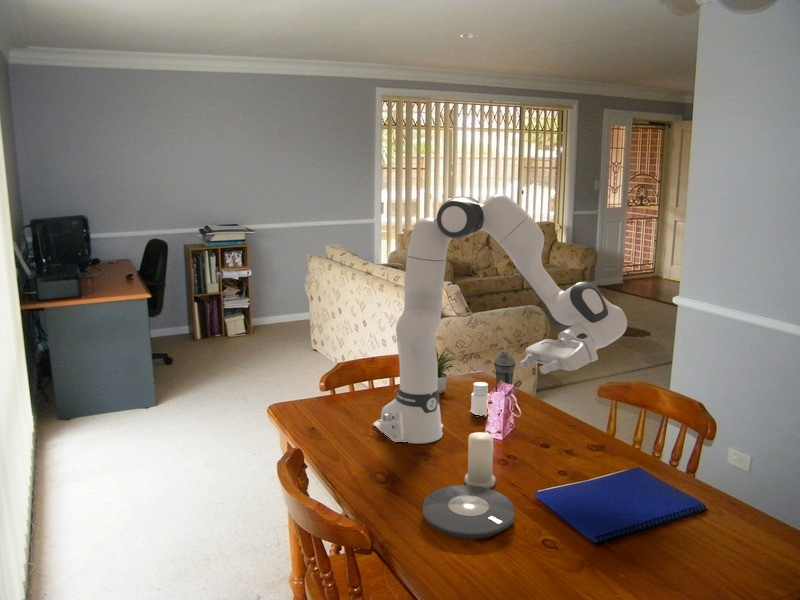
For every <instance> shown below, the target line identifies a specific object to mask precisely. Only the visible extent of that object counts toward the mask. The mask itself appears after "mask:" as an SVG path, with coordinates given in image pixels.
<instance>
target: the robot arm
mask: <svg viewBox="0 0 800 600" xmlns="http://www.w3.org/2000/svg"><path fill="white" fill-rule="evenodd" d="M479 231H484V232H485V233H487V234H489V235H490V236H491V238H492V239H494V240H495V242H497V244H498V245H499V246H500V247H501V248H502V250H504V252H505V253H506V255H508V257H509V258H510V259H511V261H512V262H513V265H514V267H515V268H516V270H517V272H518V273H519V275H520V277H521V278H522V279H523V281H525V283H526V284H527V285H528V286H529V288H530V289H531V290H532V292H533V293H534V294H535V295H536V296H537V298H538V300H539V301H540V302H541V304H542V305H543V307H544V309H545V312H546V315H547V317H548V319H549V321H550V322H551V323H552V325H554V326H555V327H557V328H559V329H561V330H562V331H560V332H559V333H558V336H557V339H552V338H546V339H542V340H540V341H537V342H535V343H534V344H531V345H529V346H528V347H526V348H525V350H524V352H525V355H526V356H525V358H524V359H522V360H520V361H519V366H520V367H521V368H523V369H527V368H528V367H530V364H534V363H537V364H542V365H541V366H539V372H540V373H541V374H544V375H546V374H549V373H550V372H555V371H558V370H560V369H561V370H564V371H568V372H571V371H572V372H573V371H576V370H578V369H580V368H582V367H584V366H586V365H588V364H589V363H594V362H596V361H598V360H599V356H598V354H597V350H599V349H602V348H605V347H608V346H609V345H611V344H612V343H613V342H615V341H617V340H618V339H619V338H621V337H622V336H623V335H624V334H625V332H626V330H627V327H628V320H627V316H626V314H625V312H624V311H623V309H622V308H621V307H619V306H618V305H615V304H613V303H611V302H610V301H608V299H606V298H605V297H604V295H603V294H602V292H601V291H600V289H599V288H598V287H597V286H596V285H595V284H593V283H591V282H589V281H579V282H576V283H575V284H573V285H572V286H570V287H569V288H567V289H566V290H563V289H561V288H560V287H559V285H557V283H556V282H555V281H554V280H553V278H552V276H551V275H549V273H548V271H547V270H546V269H545V267H544V265H543V260H542V255H543V249H544V246H545V236H544V235H545V234H544V233H543V231H542V229H541V227H540V226H539V225H538V223H537V222H536V221H535V220H534V219H533V217H532V216H530V214H529V213H527V211H526V210H525V209H523V208H522V207H521V206H520V205H519V204H518V203H517V202H515V201H514V200H513V199H511V198H510V197H509V196H508V195H506V194H504V193H496V194H493V195H491V196H489V197H488V198H487V199H485V200H484V201H483V202H481V203H480V202H479V201H477V199H475V198H473V197H471V196H455V197H453V198H450V199H448V200H446V201H444V202H443V203H442V204H441V206H440V207H439V208H438V211H437V213H436V217H424V218H423V217H422V218H420V219H418V220H417V221H416V222H415V223H414V225H413V228H412V231H411V234H410V237H409V243H408V248H407V253H406V255H407V256H406V265H405V273H404V281H403V282H404V283H403V285H404V303H403V304H404V306H403V307H404V308H403V310H402V311H403V312H402V313H401V315H400V316H399V318H398V320H397V322H396V326H395V332H396V333H395V334H396V345H397V354H398V358H399V387H395V388H394V390H393V393H396V395H395V398H394V399H393V400H391V401H390V402H389V403H387V404H386V405H384V406H383V407H382V410H381V415H380V419H377V420H376V421H374V422H373V423H372V425H374V426H376V427H377V428H378V429H379V430H380V431H382V432H383V433H384V434H385V435H386V436H388V437H389V438H390V439H391V440H392V441H394V442H393V443H395V442H404V443H405V442H408V443H407V444H428V443H434V442H436V441H439V440H440V439H441V438H442V437H443V436H442V435H443V429H444V424H443V423H442V418H441V408H440V402H439V401H440V394H439V389H438V362H437V353H436V348H437V332H438V330H439V328H440V326H441V318H442V307H443V289H444V280H445V272H446V264H447V255H448V250H449V249H448V248H449V245H450V242H451V241H452V240H453V239H455V240H458V239H459V240H460V239H465V238H467V237H470V236H472V235H473V234H475V232H479ZM379 421H380V422H379ZM442 428H443V429H442ZM385 435H384V436H385ZM386 436H385V437H386ZM389 438H388V439H389ZM390 439H389V440H390ZM391 440H390V441H391ZM392 441H391V442H392Z"/></svg>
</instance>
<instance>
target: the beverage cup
mask: <svg viewBox="0 0 800 600" xmlns="http://www.w3.org/2000/svg"><path fill="white" fill-rule="evenodd" d="M493 364H494V370H495V379H496V380H495V384H496V386H497V384H498V383H499V381H500V380H502V381H503V382H505V383H508V384H511V385H512V386H513V378H514V371H515V368H516V367H515V366H516V360H515V358H514V356H513V355H512V354H511V353H509V352H507V340H504V351H503V352H499V353H498V354H497V356H496V357H495V360H494V363H493Z"/></svg>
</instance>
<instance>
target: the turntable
mask: <svg viewBox="0 0 800 600" xmlns="http://www.w3.org/2000/svg"><path fill="white" fill-rule="evenodd" d="M422 506H423V507H422V511H423V512H422V513H423V517H424V519H425V520H426V522H427V523H428V524H429V525H431V526H432V527H433V528H435V529H437V530H439V531H440V530H441V531H443V532H446V533H449V534H453V535H458V536H466V537H481V536H488V535H493V534H495V535H496V533H497V534H498V533H501V532H503V531H505V530H507V529H508V528H509V527H510V526H511V525H512V524H513V522H514V519H515V507H514V503H513V502H512V501H511V499H509V497H507V496H506V495H505V494H502V493H501V492H499V491H496V490H494V489H493V488H490V489H488V488H485V487H480V486H471V485H466V484H465V485H464V484H462V485H461V484H460V485H459V484H457V485H450V486H445V487H442V488H439V489H437V490H434V491H432V492H430V493H429V494H428V495H427V496H426V497H425V498H424V500H423V505H422ZM441 531H440V532H441ZM443 532H442V533H443ZM493 536H494V535H493Z"/></svg>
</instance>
